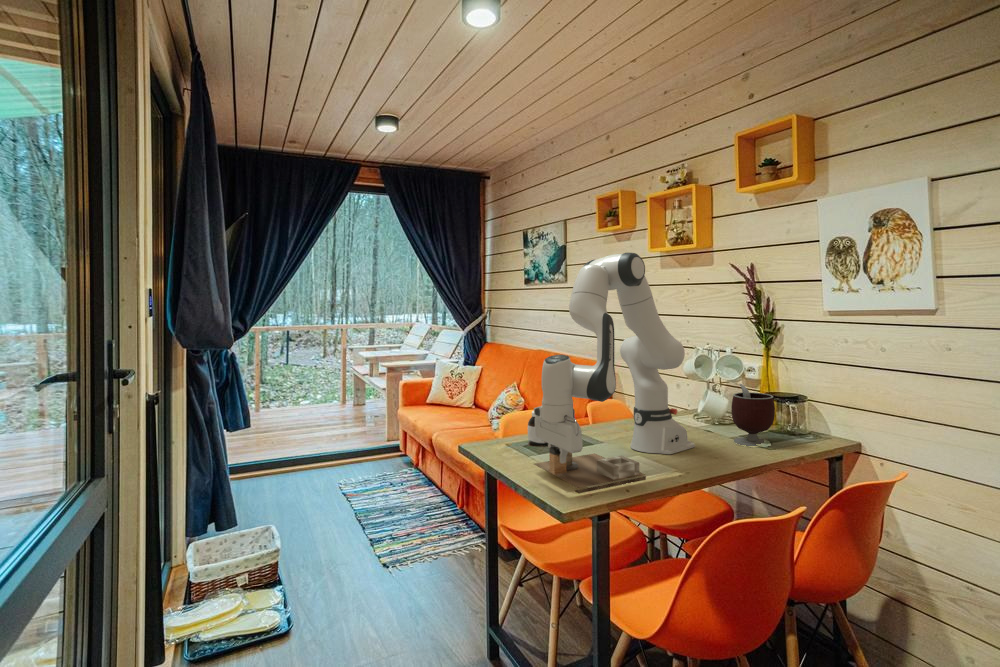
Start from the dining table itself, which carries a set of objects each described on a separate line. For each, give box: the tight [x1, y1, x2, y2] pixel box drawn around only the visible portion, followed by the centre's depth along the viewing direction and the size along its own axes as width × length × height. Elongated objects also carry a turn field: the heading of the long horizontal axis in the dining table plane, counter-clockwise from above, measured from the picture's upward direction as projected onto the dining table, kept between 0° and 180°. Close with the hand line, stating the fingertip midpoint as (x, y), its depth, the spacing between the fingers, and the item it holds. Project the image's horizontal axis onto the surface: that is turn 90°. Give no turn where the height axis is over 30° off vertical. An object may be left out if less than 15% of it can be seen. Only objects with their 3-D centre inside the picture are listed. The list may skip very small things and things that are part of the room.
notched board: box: [533, 453, 647, 494], centre depth 162 cm, size 23×25×5 cm
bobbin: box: [566, 452, 578, 471], centre depth 164 cm, size 7×7×9 cm
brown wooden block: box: [548, 447, 567, 476], centre depth 154 cm, size 4×3×7 cm, turn 115°
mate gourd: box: [731, 383, 776, 446], centre depth 192 cm, size 16×14×20 cm
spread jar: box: [527, 410, 548, 446], centre depth 199 cm, size 12×11×12 cm
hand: (558, 460), depth 154 cm, fingers closed on brown wooden block, 3 cm apart
